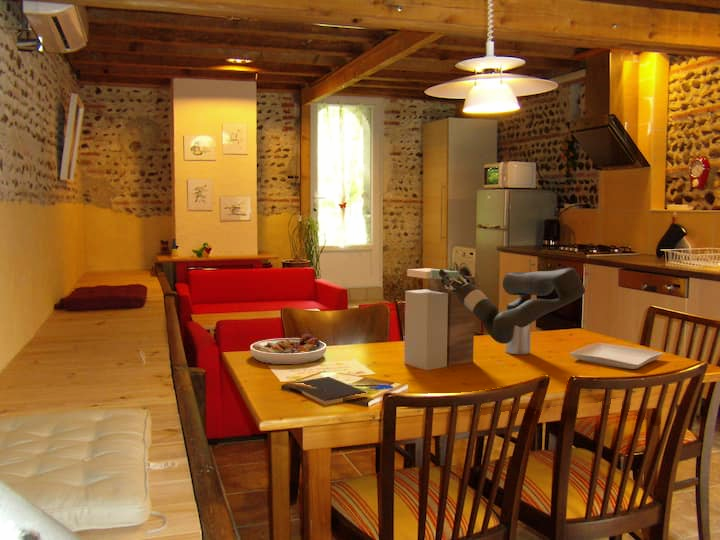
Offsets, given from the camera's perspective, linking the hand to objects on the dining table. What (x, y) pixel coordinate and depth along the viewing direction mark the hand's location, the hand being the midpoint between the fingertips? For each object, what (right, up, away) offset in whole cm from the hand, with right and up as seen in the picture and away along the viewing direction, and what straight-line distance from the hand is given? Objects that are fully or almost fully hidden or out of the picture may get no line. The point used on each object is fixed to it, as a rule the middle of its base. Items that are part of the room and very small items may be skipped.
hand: (444, 271), depth 247 cm
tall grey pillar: (-6, -36, +12) cm, 38 cm away
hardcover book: (-41, -40, -26) cm, 63 cm away
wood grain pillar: (+4, -35, +19) cm, 40 cm away
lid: (-3, -2, +4) cm, 6 cm away
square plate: (+70, -36, +22) cm, 82 cm away
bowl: (-59, -35, +24) cm, 73 cm away
